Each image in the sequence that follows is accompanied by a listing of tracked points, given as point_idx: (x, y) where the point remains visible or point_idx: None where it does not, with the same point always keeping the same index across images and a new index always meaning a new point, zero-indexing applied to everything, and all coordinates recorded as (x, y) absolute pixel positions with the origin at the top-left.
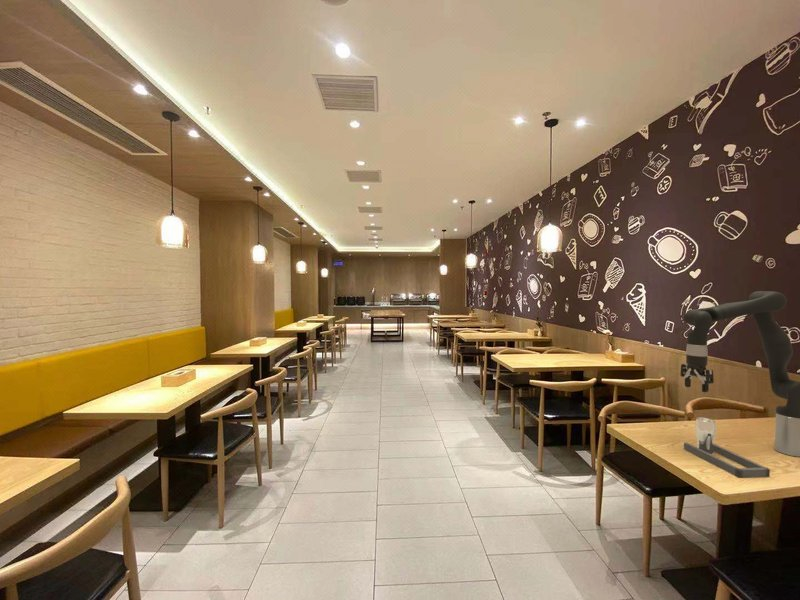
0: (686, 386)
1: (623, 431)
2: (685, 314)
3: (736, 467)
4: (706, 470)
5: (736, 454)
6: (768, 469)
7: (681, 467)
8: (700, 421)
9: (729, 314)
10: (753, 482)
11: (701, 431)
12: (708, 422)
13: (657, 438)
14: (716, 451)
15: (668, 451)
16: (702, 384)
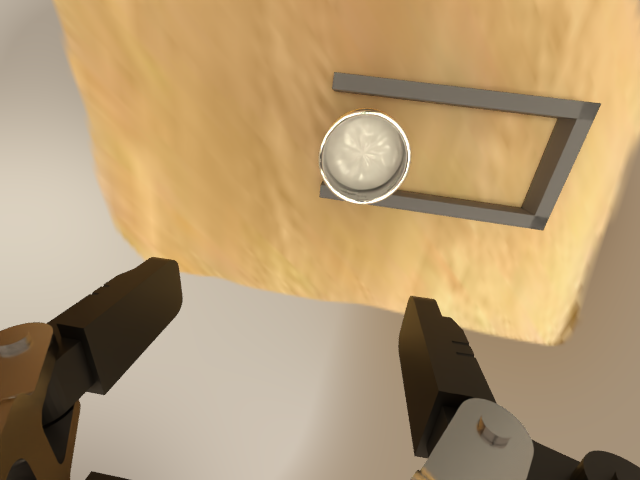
0: (177, 310)
1: None
2: None
3: (527, 218)
4: (458, 267)
5: (461, 92)
6: (597, 110)
7: None
8: (364, 203)
9: None
10: (567, 208)
11: (371, 190)
12: (398, 187)
13: (231, 199)
14: (376, 95)
15: (328, 257)
16: (422, 445)
